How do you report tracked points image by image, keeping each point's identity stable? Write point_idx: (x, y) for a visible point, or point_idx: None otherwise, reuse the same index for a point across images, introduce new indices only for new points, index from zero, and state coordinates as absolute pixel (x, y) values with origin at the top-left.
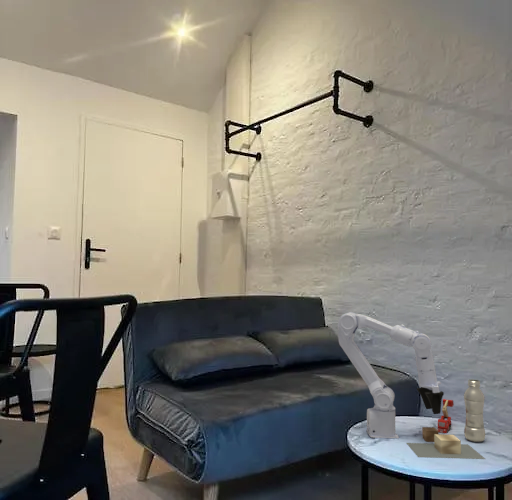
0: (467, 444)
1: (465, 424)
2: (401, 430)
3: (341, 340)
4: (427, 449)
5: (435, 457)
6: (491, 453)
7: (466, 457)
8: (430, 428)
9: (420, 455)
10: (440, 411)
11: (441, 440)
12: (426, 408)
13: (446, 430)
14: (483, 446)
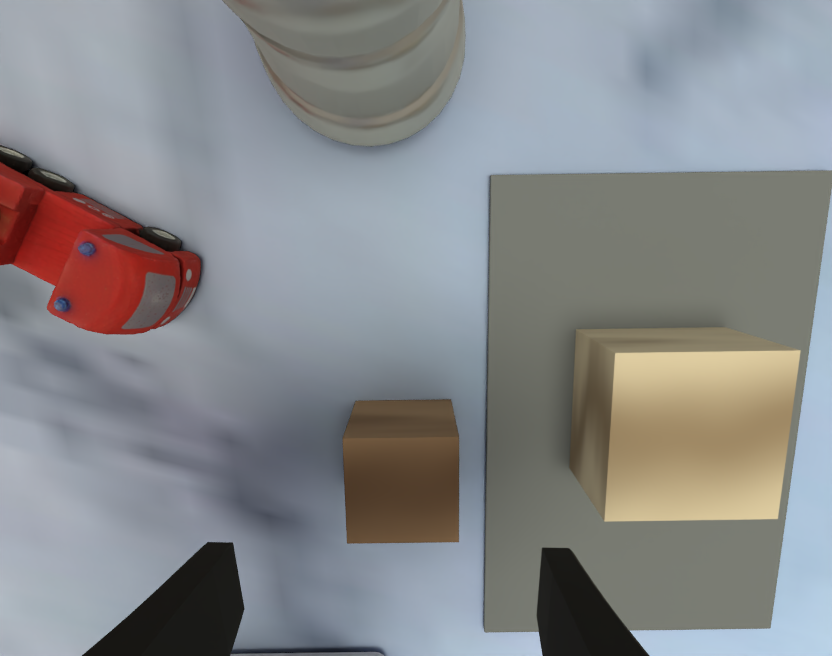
0: (491, 181)
1: (331, 110)
2: None
3: None
4: (624, 531)
5: (783, 525)
6: (679, 51)
7: (792, 310)
8: (384, 484)
9: (741, 606)
10: (578, 563)
11: (777, 514)
12: (239, 618)
13: (187, 257)
14: (505, 43)
